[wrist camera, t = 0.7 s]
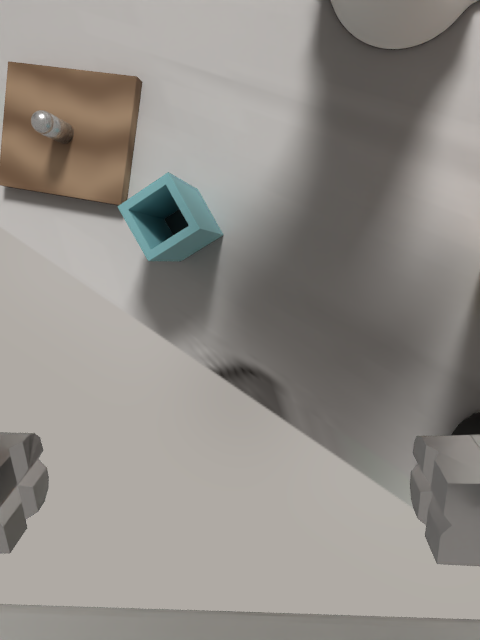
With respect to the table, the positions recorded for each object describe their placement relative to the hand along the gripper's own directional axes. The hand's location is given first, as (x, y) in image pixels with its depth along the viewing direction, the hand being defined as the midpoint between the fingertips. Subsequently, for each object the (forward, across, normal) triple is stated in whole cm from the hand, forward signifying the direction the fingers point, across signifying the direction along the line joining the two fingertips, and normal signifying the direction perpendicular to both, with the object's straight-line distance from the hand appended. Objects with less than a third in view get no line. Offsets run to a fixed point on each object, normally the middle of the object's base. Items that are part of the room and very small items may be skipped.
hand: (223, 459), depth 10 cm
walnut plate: (+48, +22, -10) cm, 54 cm away
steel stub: (+47, +23, -10) cm, 53 cm away
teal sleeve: (+44, +8, 0) cm, 45 cm away
